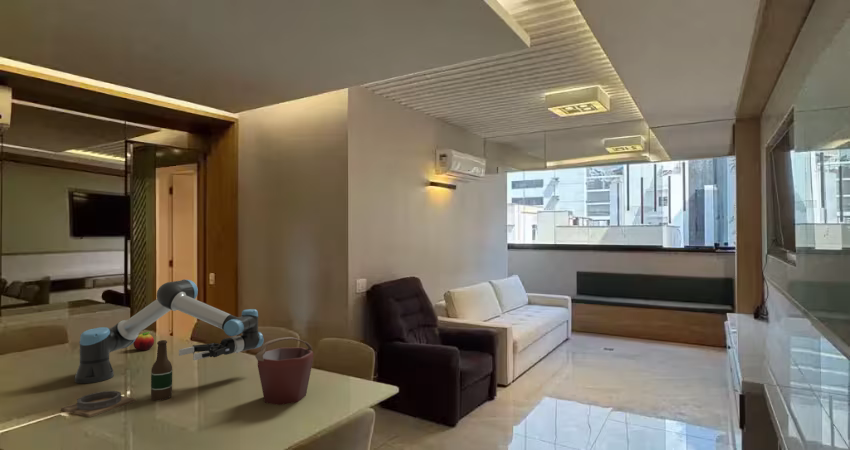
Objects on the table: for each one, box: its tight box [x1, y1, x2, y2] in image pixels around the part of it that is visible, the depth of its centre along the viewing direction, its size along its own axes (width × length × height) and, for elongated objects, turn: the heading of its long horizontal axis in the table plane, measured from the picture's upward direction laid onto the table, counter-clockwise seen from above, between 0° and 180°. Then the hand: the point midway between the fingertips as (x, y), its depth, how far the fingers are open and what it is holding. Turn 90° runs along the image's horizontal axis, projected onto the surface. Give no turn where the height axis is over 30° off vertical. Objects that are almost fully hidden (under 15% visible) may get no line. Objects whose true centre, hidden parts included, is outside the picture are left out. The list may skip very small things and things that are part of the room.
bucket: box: [254, 336, 314, 406], centre depth 194 cm, size 24×22×25 cm
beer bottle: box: [150, 339, 173, 401], centre depth 194 cm, size 8×8×24 cm
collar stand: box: [60, 390, 137, 418], centre depth 185 cm, size 18×18×4 cm
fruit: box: [132, 331, 155, 352], centre depth 277 cm, size 11×11×10 cm
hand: (186, 354), depth 202 cm, fingers open, 13 cm apart
